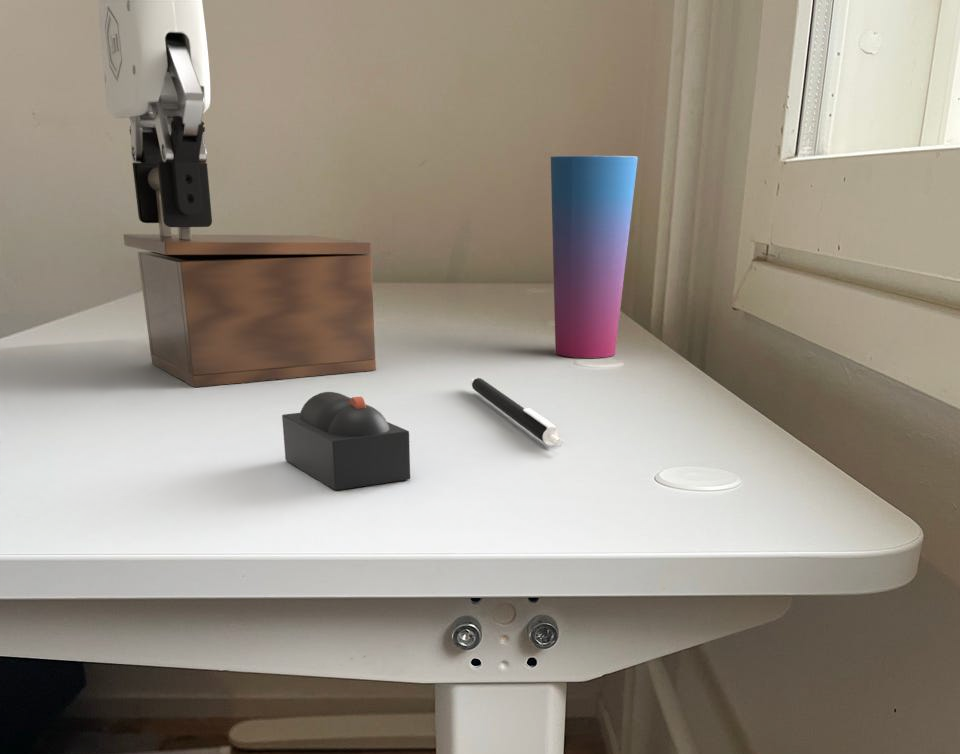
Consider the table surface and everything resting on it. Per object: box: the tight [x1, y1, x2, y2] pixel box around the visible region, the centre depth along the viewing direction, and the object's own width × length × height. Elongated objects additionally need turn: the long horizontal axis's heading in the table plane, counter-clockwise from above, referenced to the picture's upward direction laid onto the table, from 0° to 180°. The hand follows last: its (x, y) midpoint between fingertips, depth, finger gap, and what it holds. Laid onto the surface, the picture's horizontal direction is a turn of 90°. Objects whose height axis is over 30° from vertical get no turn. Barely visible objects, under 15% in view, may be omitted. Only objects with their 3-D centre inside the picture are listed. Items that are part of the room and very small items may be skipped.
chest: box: [137, 251, 377, 388], centre depth 78 cm, size 14×12×8 cm
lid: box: [123, 168, 372, 255], centre depth 75 cm, size 15×12×5 cm
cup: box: [550, 155, 639, 359], centre depth 83 cm, size 7×7×15 cm
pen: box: [470, 377, 563, 447], centre depth 63 cm, size 1×19×1 cm, turn 14°
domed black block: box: [281, 391, 411, 491], centre depth 51 cm, size 7×4×4 cm, turn 31°
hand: (174, 222), depth 73 cm, fingers closed on lid, 6 cm apart
